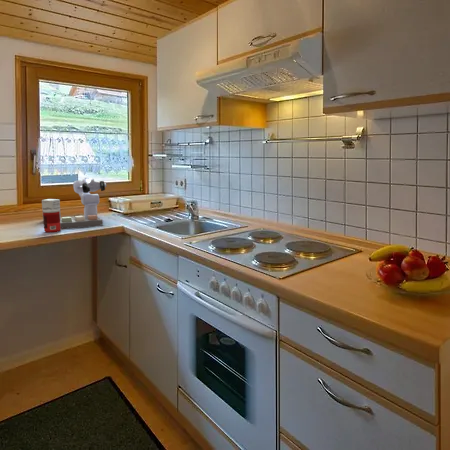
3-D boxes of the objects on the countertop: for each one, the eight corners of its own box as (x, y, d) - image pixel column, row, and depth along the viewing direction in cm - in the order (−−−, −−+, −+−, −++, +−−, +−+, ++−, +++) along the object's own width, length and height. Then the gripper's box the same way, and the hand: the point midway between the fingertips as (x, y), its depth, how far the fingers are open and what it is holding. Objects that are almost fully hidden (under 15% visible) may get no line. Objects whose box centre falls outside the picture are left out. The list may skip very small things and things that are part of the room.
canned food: (64, 230, 208) (62, 209, 206) (53, 233, 200) (51, 211, 198) (52, 229, 210) (50, 209, 208) (41, 232, 203) (39, 211, 201)
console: (57, 225, 222) (57, 220, 221) (97, 221, 233) (97, 216, 233) (61, 228, 212) (60, 223, 211) (102, 225, 223) (102, 219, 223)
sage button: (61, 222, 219) (61, 217, 219) (70, 221, 222) (69, 216, 221) (63, 223, 216) (62, 218, 215) (71, 223, 218) (71, 217, 217)
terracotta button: (87, 220, 227) (87, 215, 226) (95, 219, 229) (95, 214, 228) (89, 221, 223) (89, 216, 222) (97, 220, 225) (97, 215, 225)
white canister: (42, 221, 235) (41, 200, 233) (50, 219, 242) (49, 198, 240) (53, 221, 234) (51, 200, 231) (61, 219, 241) (59, 199, 238)
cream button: (75, 221, 223) (74, 216, 222) (83, 220, 225) (82, 215, 225) (76, 222, 219) (76, 217, 219) (84, 221, 222) (84, 216, 221)
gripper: (77, 180, 228) (81, 183, 216) (103, 177, 234) (108, 179, 223) (79, 192, 230) (83, 195, 218) (104, 188, 236) (109, 192, 225)
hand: (96, 188), depth 221 cm, fingers open, 7 cm apart
